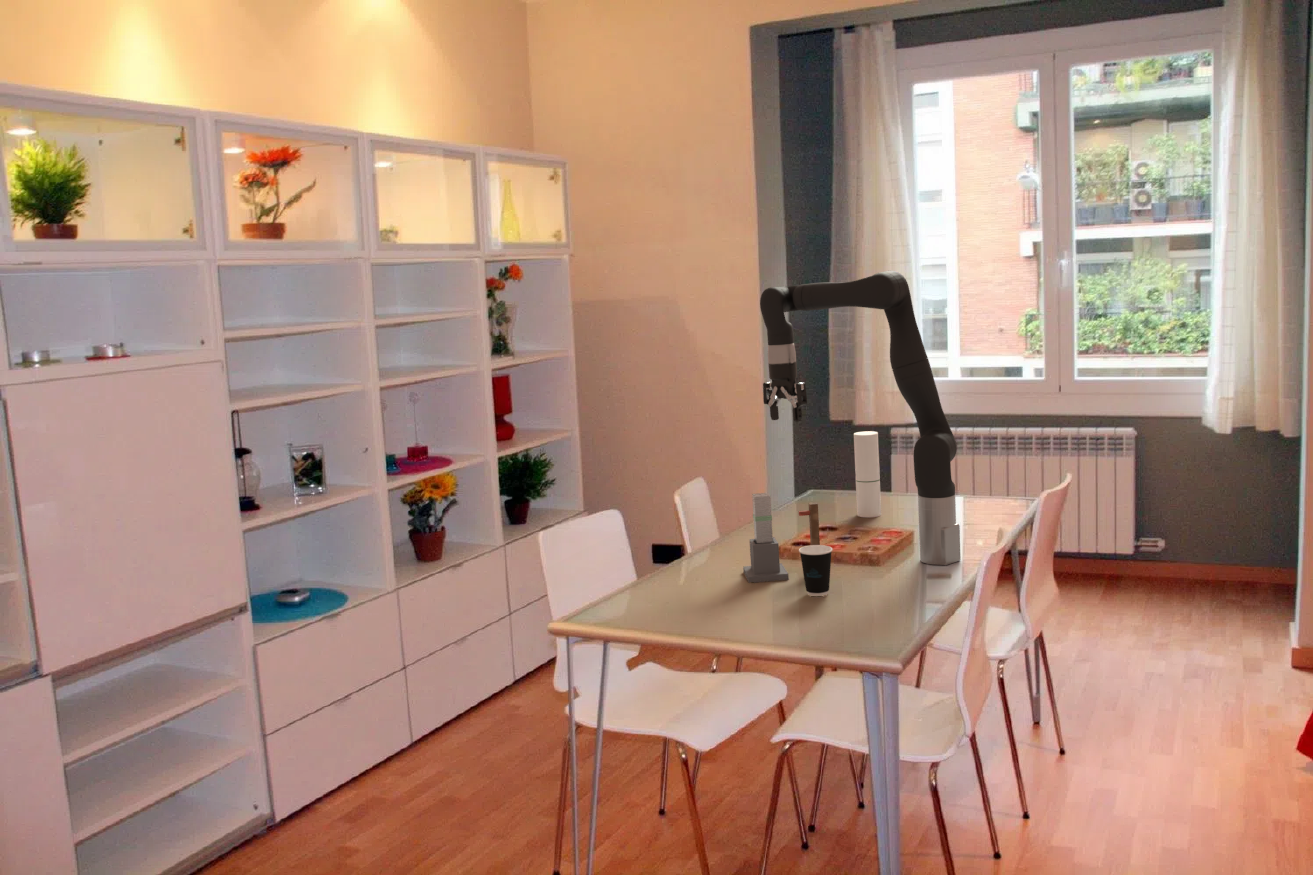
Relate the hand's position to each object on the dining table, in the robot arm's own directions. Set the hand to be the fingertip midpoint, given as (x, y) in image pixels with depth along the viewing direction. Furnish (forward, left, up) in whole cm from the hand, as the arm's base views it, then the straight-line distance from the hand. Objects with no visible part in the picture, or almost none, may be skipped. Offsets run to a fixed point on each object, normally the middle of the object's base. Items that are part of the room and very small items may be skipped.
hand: (786, 420), depth 312 cm
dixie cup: (-36, +28, -35) cm, 58 cm away
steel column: (-15, +25, -28) cm, 40 cm away
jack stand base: (-15, +25, -35) cm, 46 cm away
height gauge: (-23, +14, -35) cm, 44 cm away
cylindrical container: (+8, -40, -35) cm, 54 cm away
